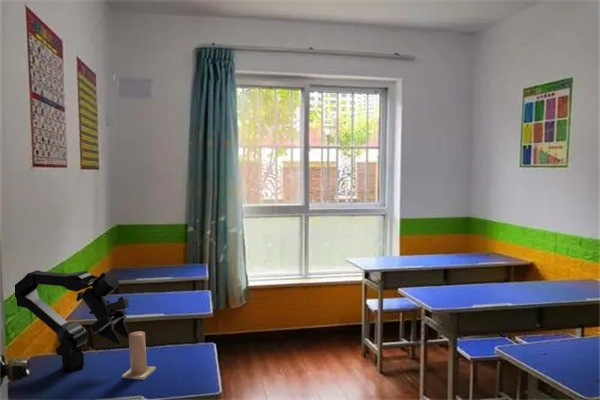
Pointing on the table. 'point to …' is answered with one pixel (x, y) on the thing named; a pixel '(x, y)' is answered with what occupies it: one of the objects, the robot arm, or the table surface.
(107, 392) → the table surface
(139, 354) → the tan rounded cylinder
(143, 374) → the coaster
